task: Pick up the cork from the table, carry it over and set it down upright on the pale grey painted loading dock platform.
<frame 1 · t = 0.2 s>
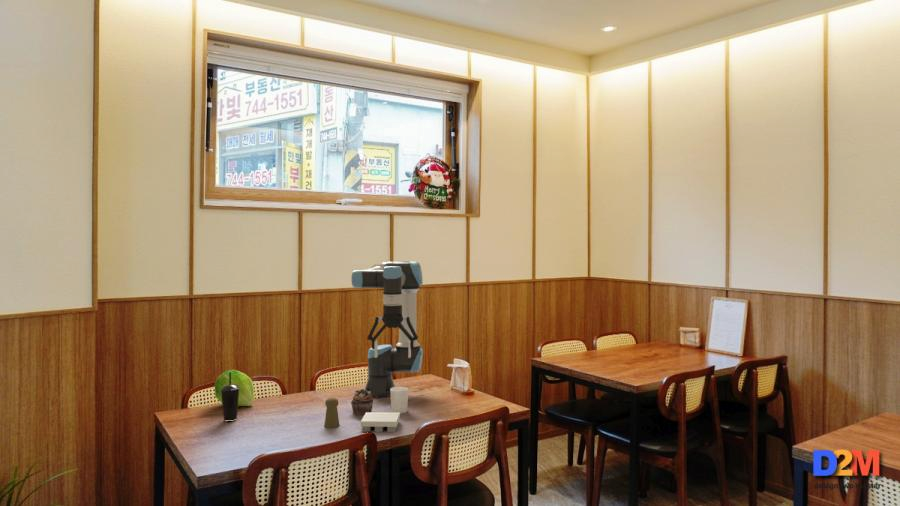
hand: (392, 357, 231), 28 cm above the table, fingers open, 13 cm apart
lettuce: (235, 405, 261), on the table
drinking cup: (230, 420, 239), on the table
cork: (331, 426, 232), on the table
white cup: (399, 411, 251), on the table
cupcake: (362, 413, 250), on the table
dock: (380, 426, 230), on the table
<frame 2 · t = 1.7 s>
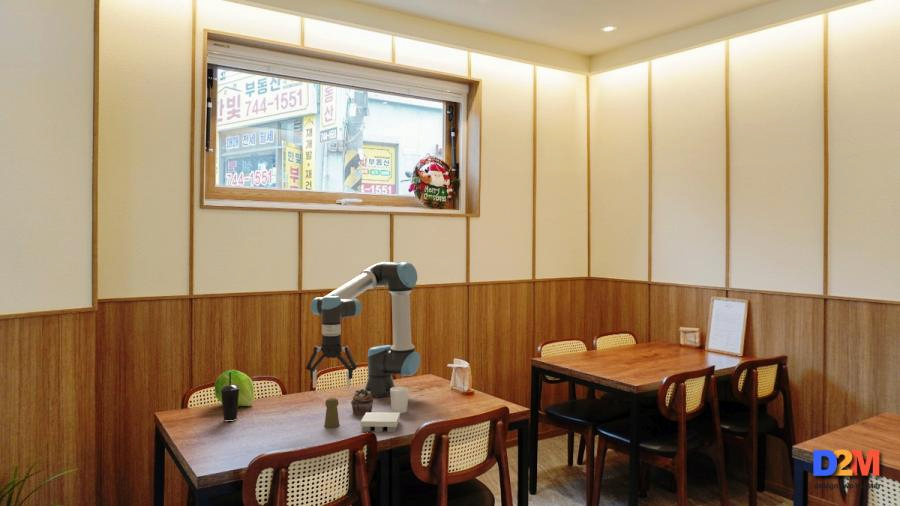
hand: (331, 387, 232), 16 cm above the table, fingers open, 13 cm apart
nothing on the table moved.
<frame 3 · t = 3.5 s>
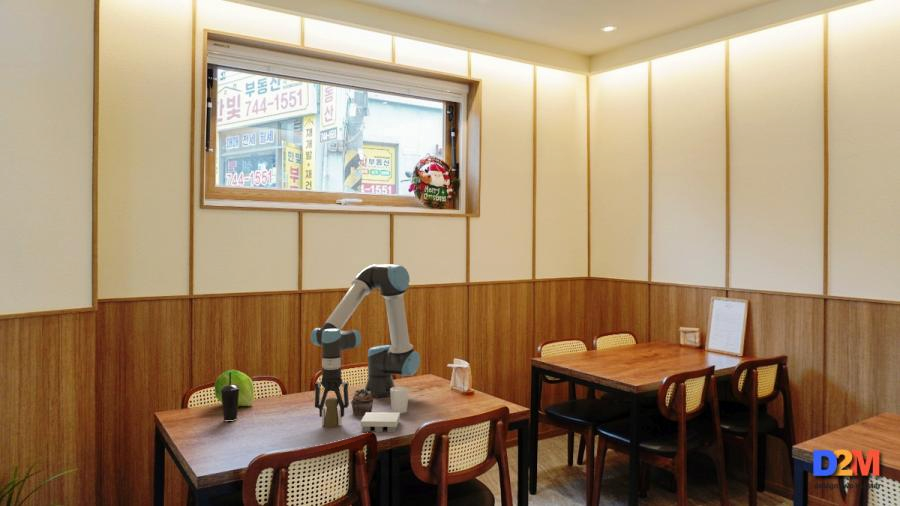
hand: (331, 424, 232), 0 cm above the table, fingers closed on cork, 6 cm apart
cork: (331, 426, 232), on the table, touching gripper
everything else where it was.
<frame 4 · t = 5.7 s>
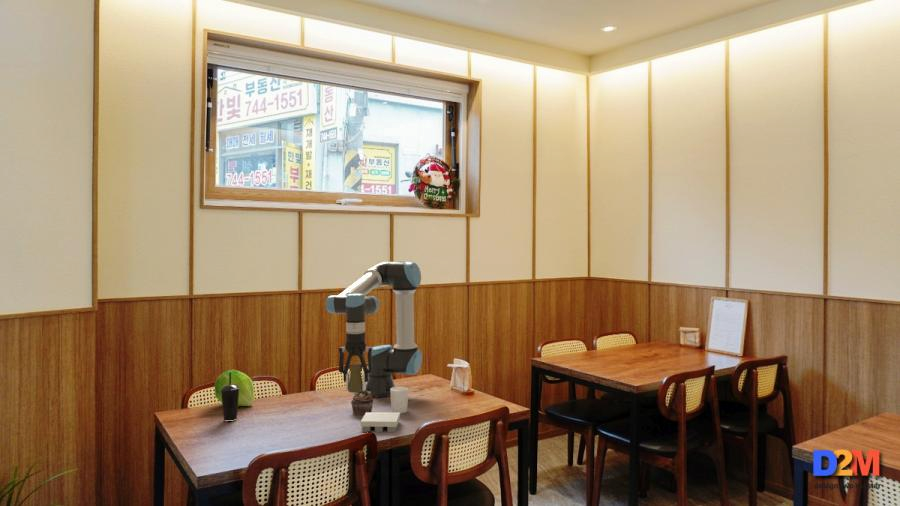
hand: (356, 389, 231), 15 cm above the table, fingers closed on cork, 6 cm apart
cork: (355, 391, 231), point 14 cm above the table, touching gripper
everything else where it was.
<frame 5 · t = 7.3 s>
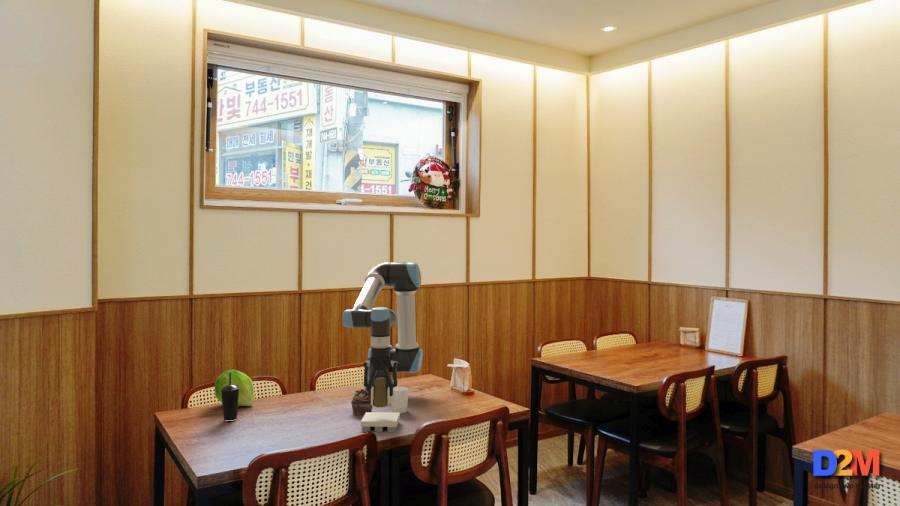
hand: (380, 403, 230), 9 cm above the table, fingers closed on cork, 6 cm apart
cork: (380, 405, 230), point 9 cm above the table, touching gripper
everything else where it was.
when the fingers open (6 cm above the table, at t = 8.2 s): cork drops 1 cm, resting on dock.
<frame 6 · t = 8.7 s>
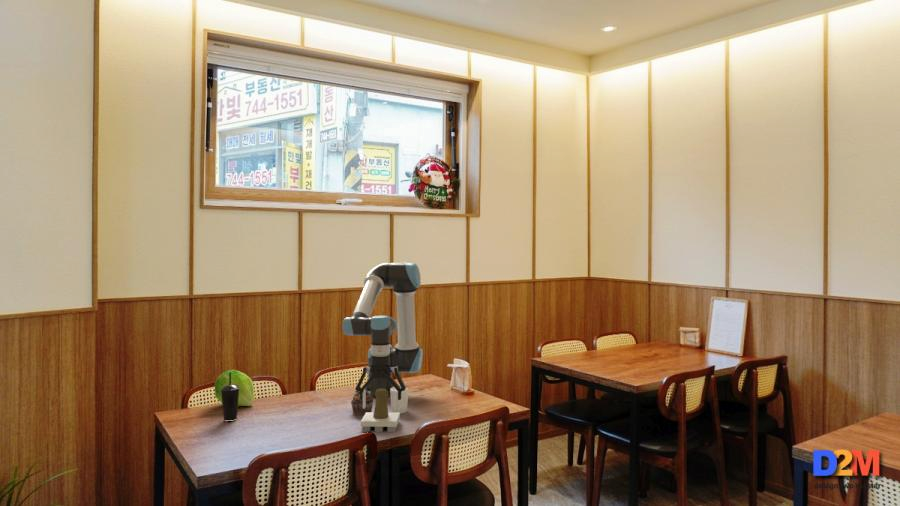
hand: (380, 407, 230), 8 cm above the table, fingers open, 13 cm apart
cork: (380, 416, 230), point 4 cm above the table, touching dock
everything else where it was.
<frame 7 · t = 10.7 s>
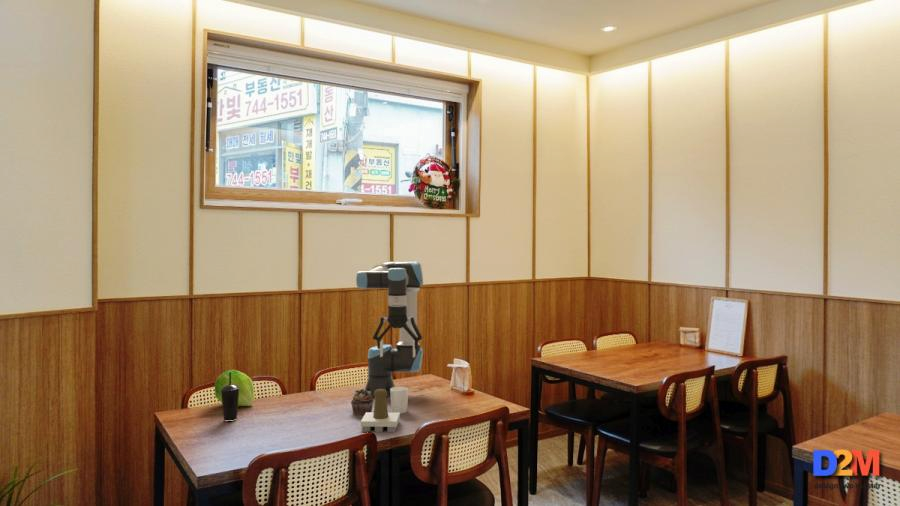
hand: (397, 356, 238), 27 cm above the table, fingers open, 13 cm apart
nothing on the table moved.
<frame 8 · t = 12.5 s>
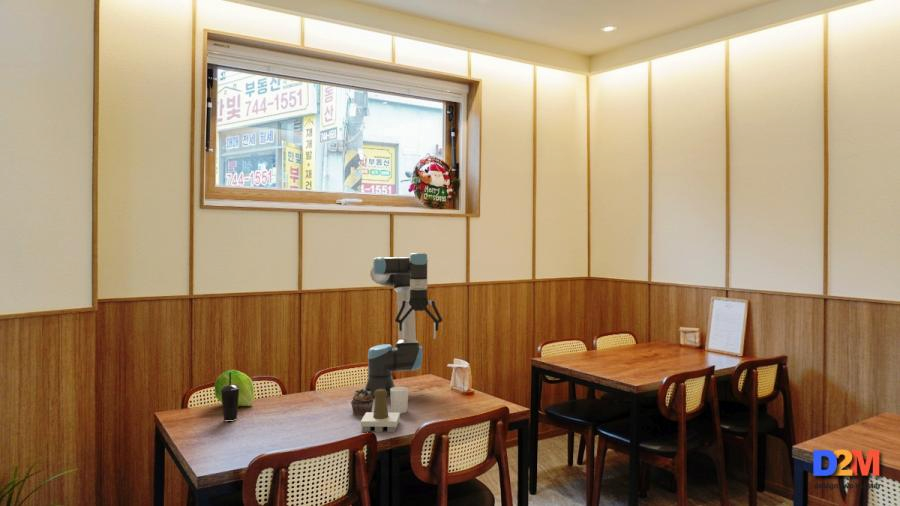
hand: (418, 338, 246), 33 cm above the table, fingers open, 13 cm apart
nothing on the table moved.
at the end: cork inside the target area on the dock (0.0 cm from its centre), point 3.8 cm above the dock's base; cork tilted 0°; the gripper is holding nothing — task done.
